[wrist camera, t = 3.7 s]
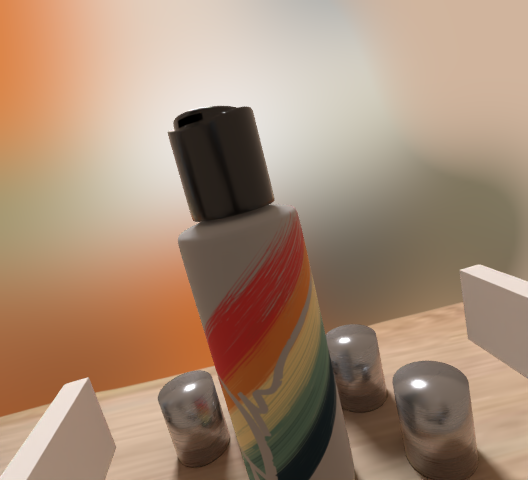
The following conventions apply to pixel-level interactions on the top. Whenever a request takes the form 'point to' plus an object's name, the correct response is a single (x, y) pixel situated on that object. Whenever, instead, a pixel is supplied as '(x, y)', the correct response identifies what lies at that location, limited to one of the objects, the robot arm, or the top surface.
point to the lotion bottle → (258, 302)
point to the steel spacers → (348, 407)
